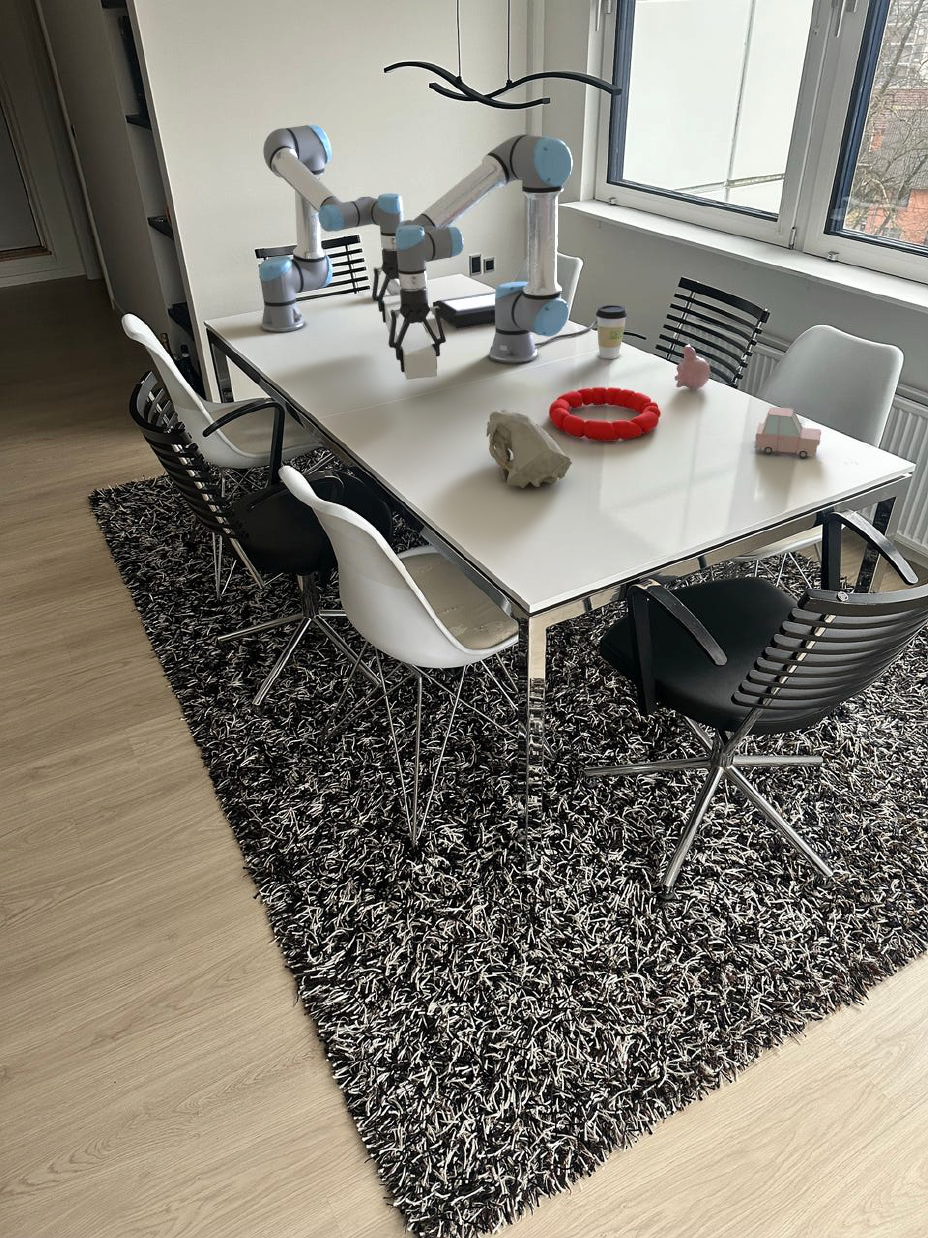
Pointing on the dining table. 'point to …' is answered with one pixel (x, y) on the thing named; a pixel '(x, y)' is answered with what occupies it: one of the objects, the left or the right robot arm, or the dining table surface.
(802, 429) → the toy car
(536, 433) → the animal skull
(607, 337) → the coffee cup
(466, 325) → the electronic device
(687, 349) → the figurine
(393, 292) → the seashell
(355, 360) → the dining table surface
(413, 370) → the wide beam
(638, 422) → the decorative ring
